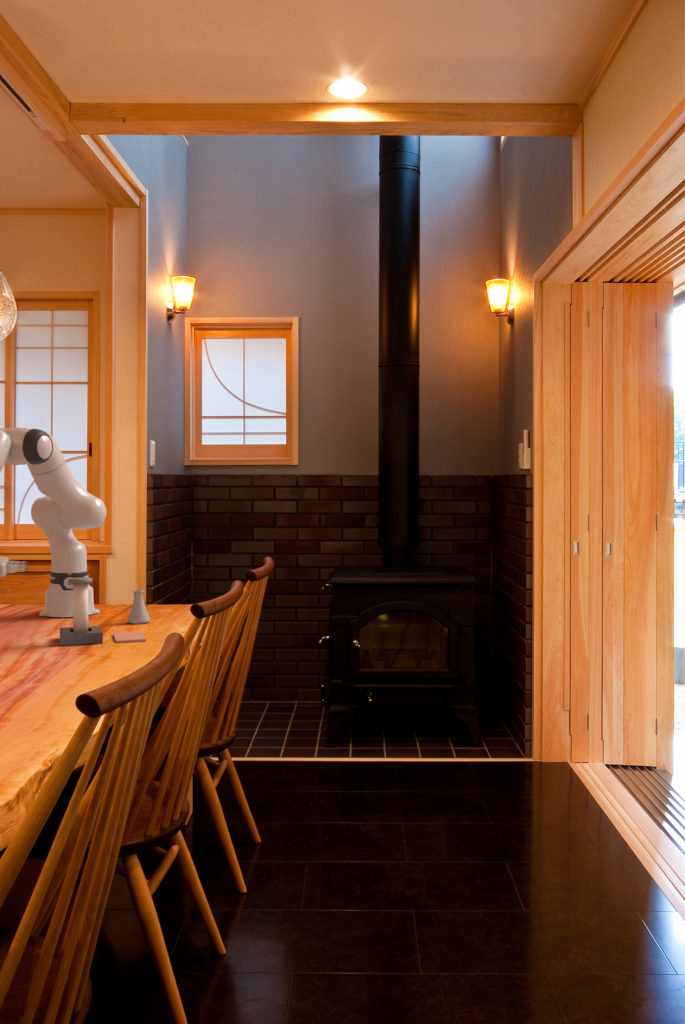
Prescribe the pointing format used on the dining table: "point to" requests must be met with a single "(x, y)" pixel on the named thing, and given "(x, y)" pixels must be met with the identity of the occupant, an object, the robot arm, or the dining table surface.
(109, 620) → the dining table surface
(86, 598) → the peg
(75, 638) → the eye block
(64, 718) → the dining table surface
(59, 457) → the robot arm
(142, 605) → the flask
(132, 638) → the pad
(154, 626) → the dining table surface
